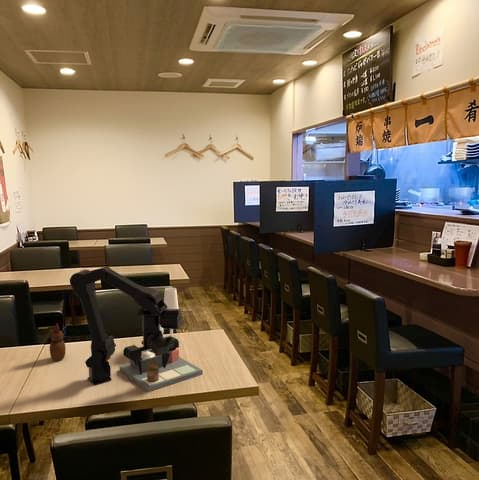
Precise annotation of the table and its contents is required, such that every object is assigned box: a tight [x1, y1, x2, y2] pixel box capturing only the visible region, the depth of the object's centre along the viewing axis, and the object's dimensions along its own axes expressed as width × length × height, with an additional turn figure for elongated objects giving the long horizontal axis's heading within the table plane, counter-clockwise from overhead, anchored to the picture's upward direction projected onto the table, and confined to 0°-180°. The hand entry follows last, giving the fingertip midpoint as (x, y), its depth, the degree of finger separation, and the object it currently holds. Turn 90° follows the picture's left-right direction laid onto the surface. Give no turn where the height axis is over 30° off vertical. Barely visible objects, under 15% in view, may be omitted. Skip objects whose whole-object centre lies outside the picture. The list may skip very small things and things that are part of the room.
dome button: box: [141, 351, 155, 360], centre depth 175 cm, size 6×6×4 cm
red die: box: [168, 348, 180, 363], centre depth 181 cm, size 4×4×4 cm
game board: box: [119, 350, 204, 392], centre depth 174 cm, size 22×22×6 cm
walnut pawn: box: [147, 360, 159, 382], centre depth 164 cm, size 4×4×7 cm
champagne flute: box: [163, 287, 180, 345], centre depth 200 cm, size 7×7×24 cm
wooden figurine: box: [49, 322, 66, 361], centre depth 185 cm, size 7×6×15 cm
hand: (152, 371), depth 164 cm, fingers open, 9 cm apart
